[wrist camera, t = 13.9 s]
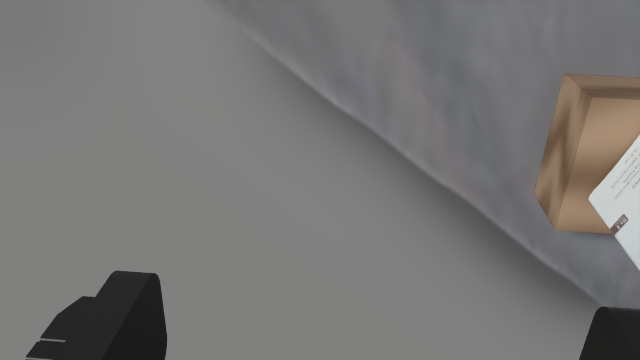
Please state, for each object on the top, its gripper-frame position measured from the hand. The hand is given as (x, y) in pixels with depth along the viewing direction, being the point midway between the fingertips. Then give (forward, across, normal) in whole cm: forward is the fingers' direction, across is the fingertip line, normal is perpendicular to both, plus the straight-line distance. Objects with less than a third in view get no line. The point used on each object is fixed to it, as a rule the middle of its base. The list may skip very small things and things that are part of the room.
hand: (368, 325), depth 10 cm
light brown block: (+36, -22, +10) cm, 43 cm away
